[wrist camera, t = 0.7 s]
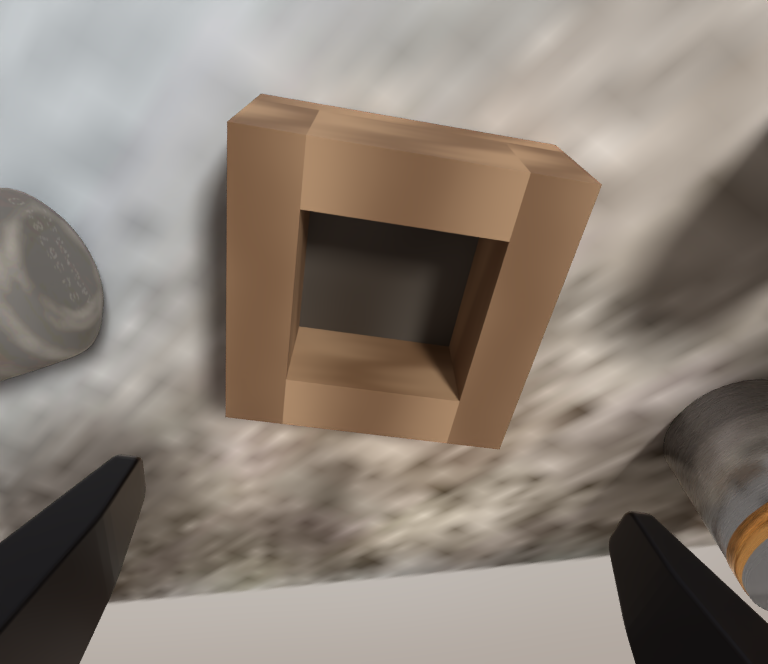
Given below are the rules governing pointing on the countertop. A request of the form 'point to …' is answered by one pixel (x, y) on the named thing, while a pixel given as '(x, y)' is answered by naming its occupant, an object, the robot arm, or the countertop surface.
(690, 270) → the countertop surface
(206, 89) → the countertop surface
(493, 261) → the block
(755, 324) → the countertop surface
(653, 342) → the countertop surface
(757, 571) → the cylinder
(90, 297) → the pipe fitting
